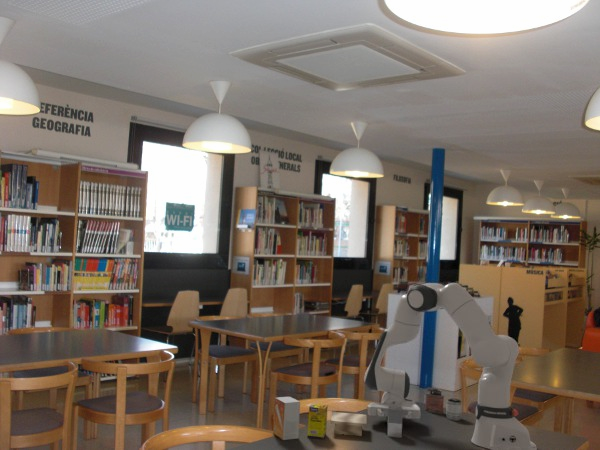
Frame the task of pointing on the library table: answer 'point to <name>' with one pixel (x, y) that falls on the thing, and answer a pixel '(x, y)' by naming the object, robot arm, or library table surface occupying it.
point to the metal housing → (394, 421)
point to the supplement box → (317, 421)
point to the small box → (286, 418)
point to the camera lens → (454, 409)
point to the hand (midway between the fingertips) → (394, 415)
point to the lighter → (434, 401)
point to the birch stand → (348, 423)
